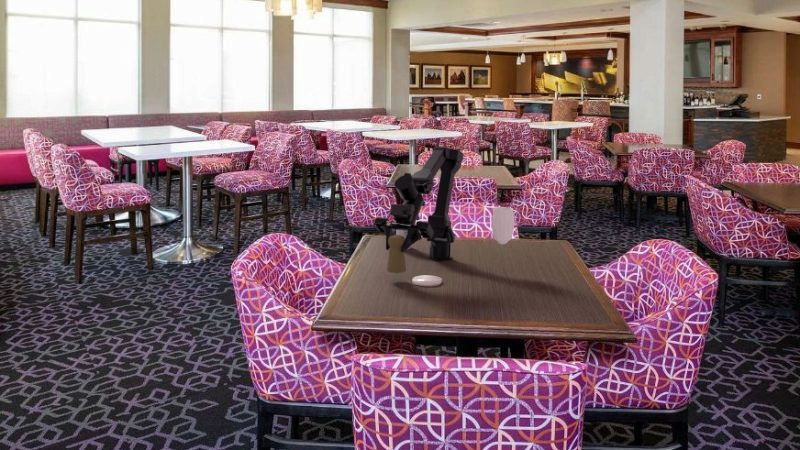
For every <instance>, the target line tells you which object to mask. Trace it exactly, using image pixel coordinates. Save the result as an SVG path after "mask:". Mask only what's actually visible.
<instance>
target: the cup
mask: <svg viewBox="0 0 800 450" xmlns="http://www.w3.org/2000/svg"><path fill="white" fill-rule="evenodd" d="M491 217H492V220H491V229H492V236H493V238H494V240H495V241H496V242H497V243H498V244H500V245H505V244H508V242H509V241H511V240H512V237H513V235H514V229H515V213H514V208H513V207H508V206H496V207H493V212H492V216H491Z"/></svg>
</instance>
